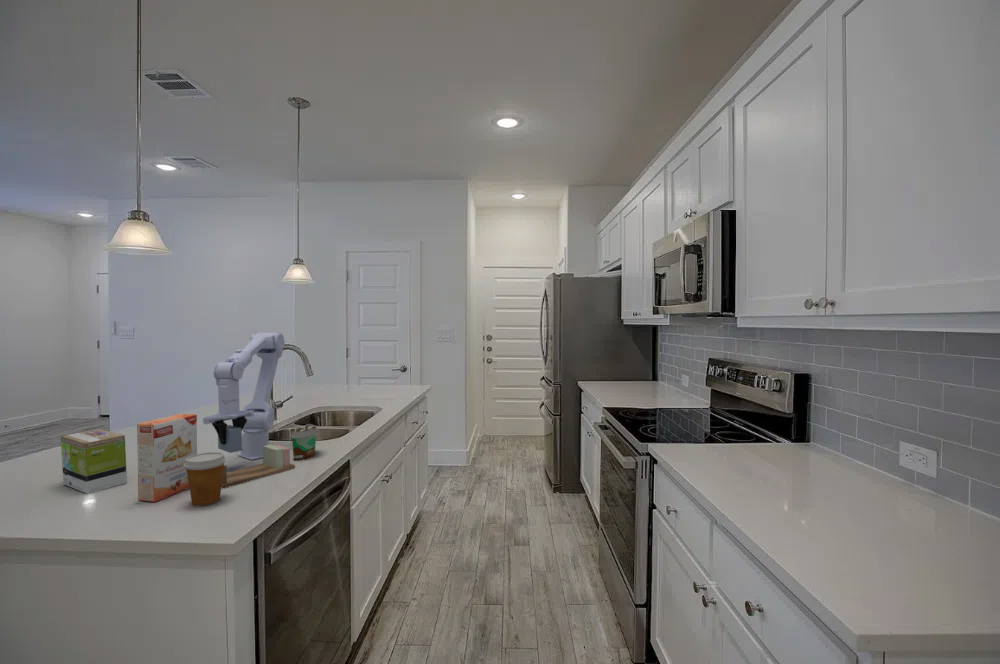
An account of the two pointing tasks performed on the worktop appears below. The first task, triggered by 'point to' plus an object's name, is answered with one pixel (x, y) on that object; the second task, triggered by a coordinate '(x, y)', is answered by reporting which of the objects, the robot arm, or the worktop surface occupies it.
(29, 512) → the worktop surface
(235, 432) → the grey rectangular block
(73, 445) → the tea box
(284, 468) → the shelf
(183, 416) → the cracker box
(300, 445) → the food container
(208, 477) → the disposable coffee cup
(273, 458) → the book row
